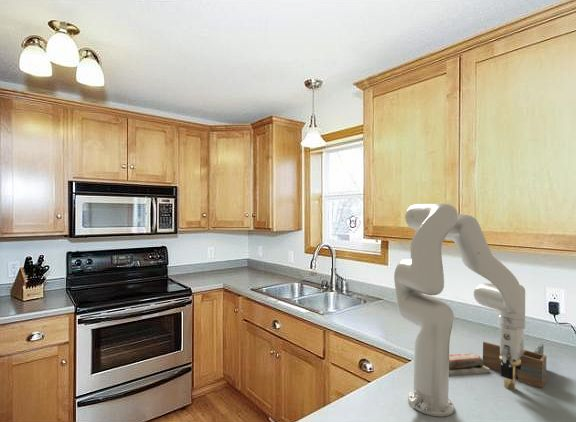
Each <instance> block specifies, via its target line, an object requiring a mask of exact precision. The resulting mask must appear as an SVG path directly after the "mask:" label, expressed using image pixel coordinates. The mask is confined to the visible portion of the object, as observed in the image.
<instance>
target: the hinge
mask: <svg viewBox="0 0 576 422" xmlns="http://www.w3.org/2000/svg"><path fill="white" fill-rule="evenodd" d="M499 356H500V345H498V344H494V343H490V342H487V341H483V342H482V359H483V365H484V366H486V367H488V368H489V369H490V370H495V371H498V372H500V373H501V361H500V360H499ZM547 358H548V357H547V355H545V354H544V343H540V344H539V345H538V347H537V348H536V349H535V350H534V351H529V350H526V349H524V354H523V355H522V357H521V369H516V368H515V378H517V380H518V382H520V383H521V382H522V383H524V384H528V385H529V386H533V387H537V388H539V389H543V388H544V386H545V384H546V383H547Z"/></svg>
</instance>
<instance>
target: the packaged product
mask: <svg viewBox="0 0 576 422" xmlns="http://www.w3.org/2000/svg"><path fill="white" fill-rule="evenodd" d="M490 372H491V368H488V367H486V366H484V365H483V357H481V356H480V355H478V354H475V353H449V376H453V375H454V376H457V375H473V374H484V373H490Z"/></svg>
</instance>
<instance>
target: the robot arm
mask: <svg viewBox="0 0 576 422" xmlns="http://www.w3.org/2000/svg"><path fill="white" fill-rule="evenodd" d="M404 217H405V218H404V219H405V222H406V224H407V225H408V227H409V228H411V230H414V231H416V232H415V233H414V235H413V237H412V238H411V241H410V258H405V259H402V260H401V261H400V262H398V263H397V265H396V267H395V270H394V272H393V273H394V276H393V279H394V288H395V290H394V291H395V297H396V304H397V310H398V313H399V314H400V316H401V317H402V318H403V319H404V320H406V321H408V322H410V323H412V324H415V325H416V326H418V327H420V328H419V329H420V330H419V331H418V334H417V335H416V337H415V340H414V354H413V355H414V360H413V361H414V363H413V365H414V366H413V390H412V391H409V393H408V395H407V396H408V397H407V400H408V405H409V407H410V408H412V409H415V410H417V411H418V412H420V413H423V414H425V415H427V416H434V417H441V418H442V417H448V416H450V415H452V414H453V413H454V411H455V406H454V403H453V401H452V400H451V399H450V398H449V379H450V377H449V376H450V375H449V354H450V341H451V334H452V330H453V326H454V320H455V314H454V311H453V310H452V308H451V306H450V305H449V304H447V303H446V302H444V301H443V300H440V299H438V298H435V297H433V296H438V295H440V294H441V293H442V292H443V290H444V287H445V274H444V266H443V254H442V247H443V246H442V245H443V243H444V241H445V240H447V241H453V242H454V244H455V247H456V249H457V251H458V253H459V255H460V256H459V257H460V258H461V261H462V263H463V264H464V266H465V267H467V268H468V269H469V270H471V271H472V272H474V273H475V274H477V275H479V276H481V277H483V278H484V279H485V280H487V281H488V282H490V283H485V282H484V283H481V284H479V285H477V286H475V288H474V290H473V297H474V299H475V301H476V302H477V303H478V304H480V305H481V306H484V307H487V308H491V309H493V310H497V325H498V326H500V334H499V335H500V339H499V346H500V355H501V357H502V359H501V372H500V376H501V377H502V378H504V377H505V378H508V379H511V380H512V379H513V367H512V362H513V359H515V360H516V361H517V360H519V359H521V357H522V355H523V354H524V350H525V334H524V330H525V329H526V289H525V287H524V286H523V285H521V284H520V282H519V280H518V279H517V277H516V275H514V274H513V272H512V271H511V270H510V269H509V268H508V267H507V266H505V265H504V263H503V262H501V261H499V259H498V258H496V257H495V256H494V255H493V254H492V251H491V249H490V246H489V245H488V242H487V240H486V237H485V234H484V233H483V230H482V229H481V225H480V224H479V222H478V220H477V219H476V218H475V217H474V216H472V215H468V214H458V211H457V209H456V207H454V206H453V205H451V204H448V203H440V202H439V203H417V204H413V205H410V206H409V207H408V208H407V210H406V212H405V215H404ZM507 355H509V356H507ZM510 356H511V357H510ZM507 359H510V362H509V361H508V360H507ZM515 368H516V369H521V365H520V366H515Z"/></svg>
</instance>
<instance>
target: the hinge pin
mask: <svg viewBox="0 0 576 422" xmlns="http://www.w3.org/2000/svg"><path fill="white" fill-rule="evenodd" d="M507 356H509V355H507ZM510 357H511V356H510ZM501 359H502V357H501V355H500V356H499V360H500V361H501ZM507 360H508V361H509V362H510V359H507ZM520 365H521V359H519V360H517V361H516V360H515V359H513V362H512V367H513V379H512V380H511V379H508V378H505V377H503V382H504V384H503V387H504V388H505V389H507V390H510V391H514V390H516V376H515V366H520Z"/></svg>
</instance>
